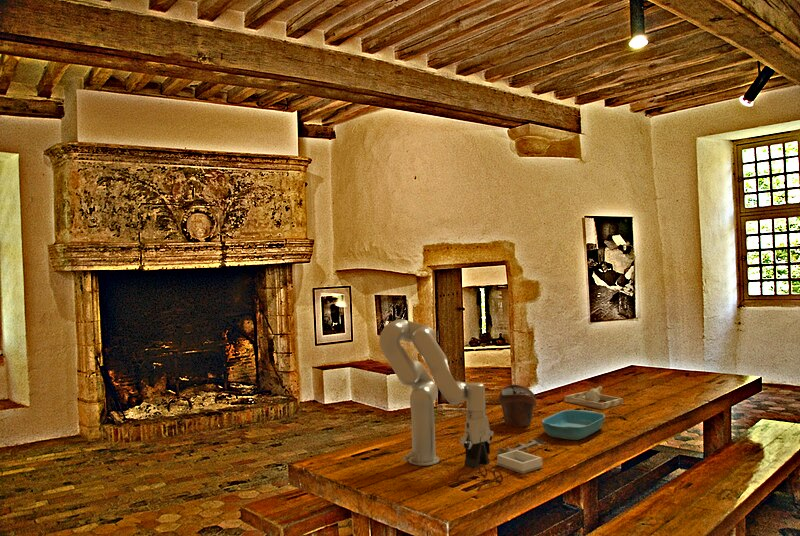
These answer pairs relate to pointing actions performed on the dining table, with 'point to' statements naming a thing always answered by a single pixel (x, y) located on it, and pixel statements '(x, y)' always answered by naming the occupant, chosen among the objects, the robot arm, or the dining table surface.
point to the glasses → (484, 475)
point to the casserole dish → (573, 424)
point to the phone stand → (477, 455)
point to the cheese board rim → (610, 401)
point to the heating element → (522, 446)
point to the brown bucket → (517, 405)
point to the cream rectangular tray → (519, 461)
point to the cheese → (593, 394)
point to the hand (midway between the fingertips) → (477, 455)
